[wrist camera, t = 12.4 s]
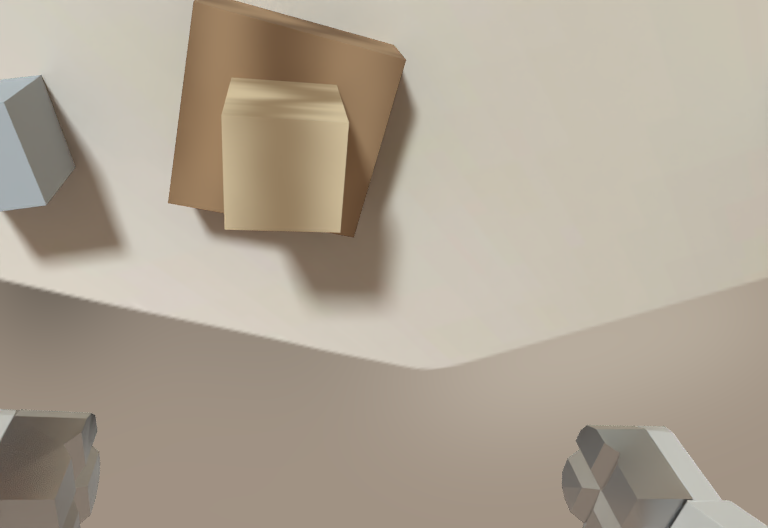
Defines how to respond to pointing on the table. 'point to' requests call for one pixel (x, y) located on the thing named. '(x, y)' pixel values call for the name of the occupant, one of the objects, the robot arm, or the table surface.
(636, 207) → the table surface
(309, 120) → the oak block
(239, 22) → the walnut block
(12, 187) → the slate cube
